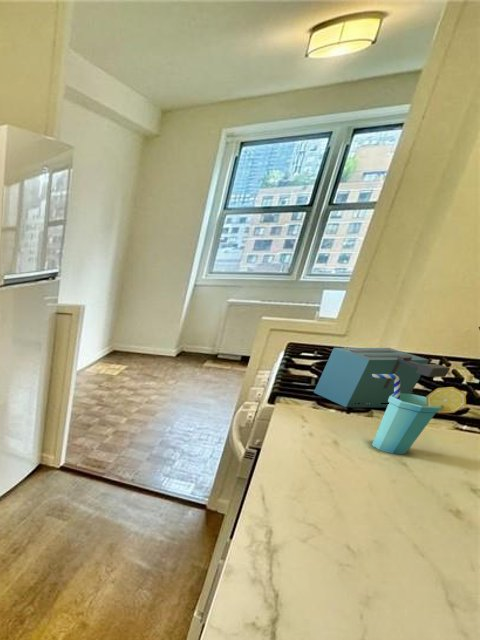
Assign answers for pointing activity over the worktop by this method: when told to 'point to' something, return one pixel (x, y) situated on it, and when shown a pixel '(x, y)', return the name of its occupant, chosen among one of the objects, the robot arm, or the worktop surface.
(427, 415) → the cup
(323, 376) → the toaster
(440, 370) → the toaster lever
